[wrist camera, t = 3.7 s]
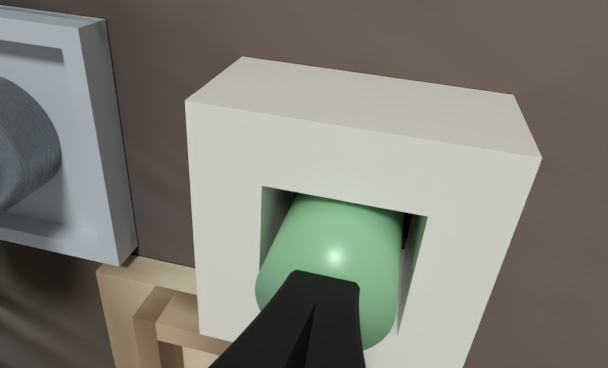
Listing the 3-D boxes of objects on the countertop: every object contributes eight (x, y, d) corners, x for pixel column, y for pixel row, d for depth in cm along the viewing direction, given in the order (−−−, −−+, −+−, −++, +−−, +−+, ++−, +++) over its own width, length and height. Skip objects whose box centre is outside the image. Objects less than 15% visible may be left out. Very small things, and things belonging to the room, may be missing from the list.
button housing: (241, 257, 16) (199, 333, 13) (242, 56, 13) (184, 101, 10) (447, 301, 15) (451, 395, 12) (513, 95, 11) (542, 158, 9)
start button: (295, 235, 14) (253, 336, 11) (302, 147, 13) (256, 232, 9) (394, 255, 14) (383, 367, 10) (414, 166, 12) (408, 264, 9)
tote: (-49, 205, 18) (-77, 222, 17) (-132, -13, 14) (-175, -7, 13) (137, 245, 17) (119, 266, 16) (105, 19, 13) (78, 28, 12)
